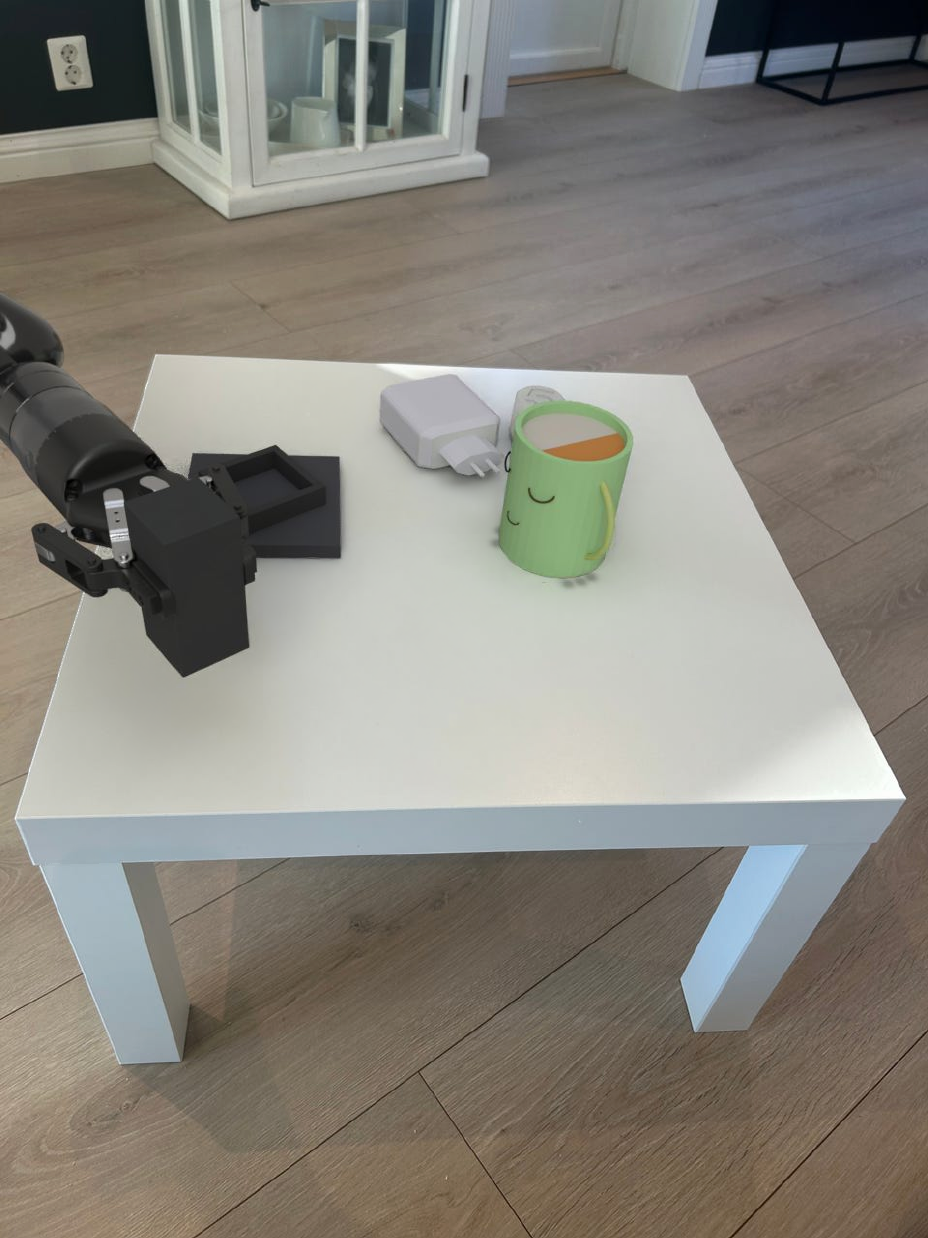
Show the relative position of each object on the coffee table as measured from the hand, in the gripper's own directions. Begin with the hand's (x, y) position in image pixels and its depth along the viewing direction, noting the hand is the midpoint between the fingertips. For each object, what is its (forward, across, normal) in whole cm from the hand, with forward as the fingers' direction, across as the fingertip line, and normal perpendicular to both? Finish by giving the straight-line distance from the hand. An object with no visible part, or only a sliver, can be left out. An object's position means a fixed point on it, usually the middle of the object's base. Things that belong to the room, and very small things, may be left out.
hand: (209, 589), depth 59 cm
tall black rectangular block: (-3, 0, -6) cm, 7 cm away
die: (-17, -47, -14) cm, 52 cm away
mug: (-2, -36, -14) cm, 39 cm away
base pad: (-22, -17, -14) cm, 31 cm away
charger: (-20, -38, -14) cm, 45 cm away
